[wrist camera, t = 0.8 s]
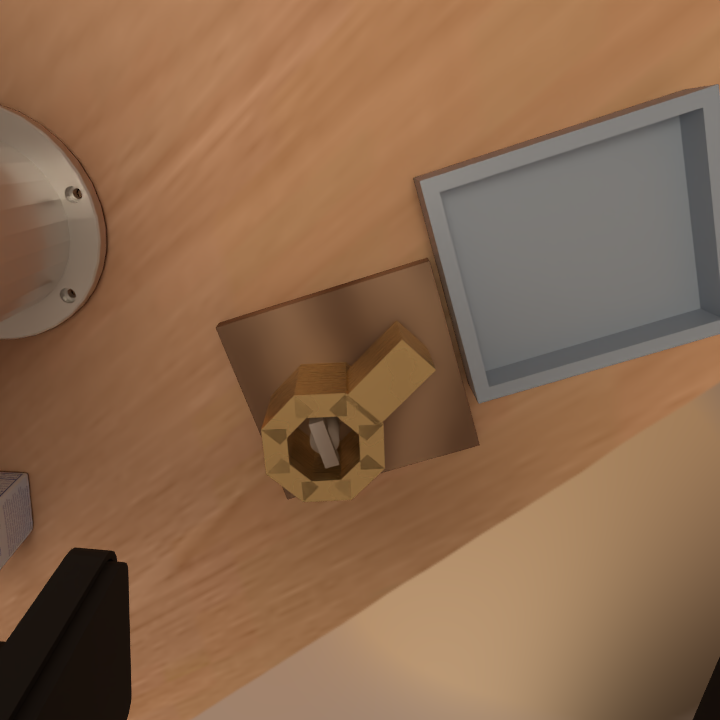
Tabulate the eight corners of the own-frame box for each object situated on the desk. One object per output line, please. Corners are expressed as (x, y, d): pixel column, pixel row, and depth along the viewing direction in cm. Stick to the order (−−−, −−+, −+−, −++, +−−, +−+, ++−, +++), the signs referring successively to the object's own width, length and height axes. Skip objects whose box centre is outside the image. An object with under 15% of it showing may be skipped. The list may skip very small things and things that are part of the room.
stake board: (289, 490, 38) (280, 539, 33) (219, 322, 34) (199, 351, 29) (476, 437, 37) (494, 480, 32) (427, 257, 33) (440, 276, 28)
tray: (468, 383, 36) (478, 403, 33) (413, 177, 32) (419, 181, 29) (707, 313, 35) (739, 328, 32) (684, 89, 30) (718, 84, 27)
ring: (331, 478, 37) (329, 521, 33) (251, 416, 35) (238, 453, 31) (449, 363, 34) (463, 394, 30) (369, 291, 33) (372, 313, 28)
